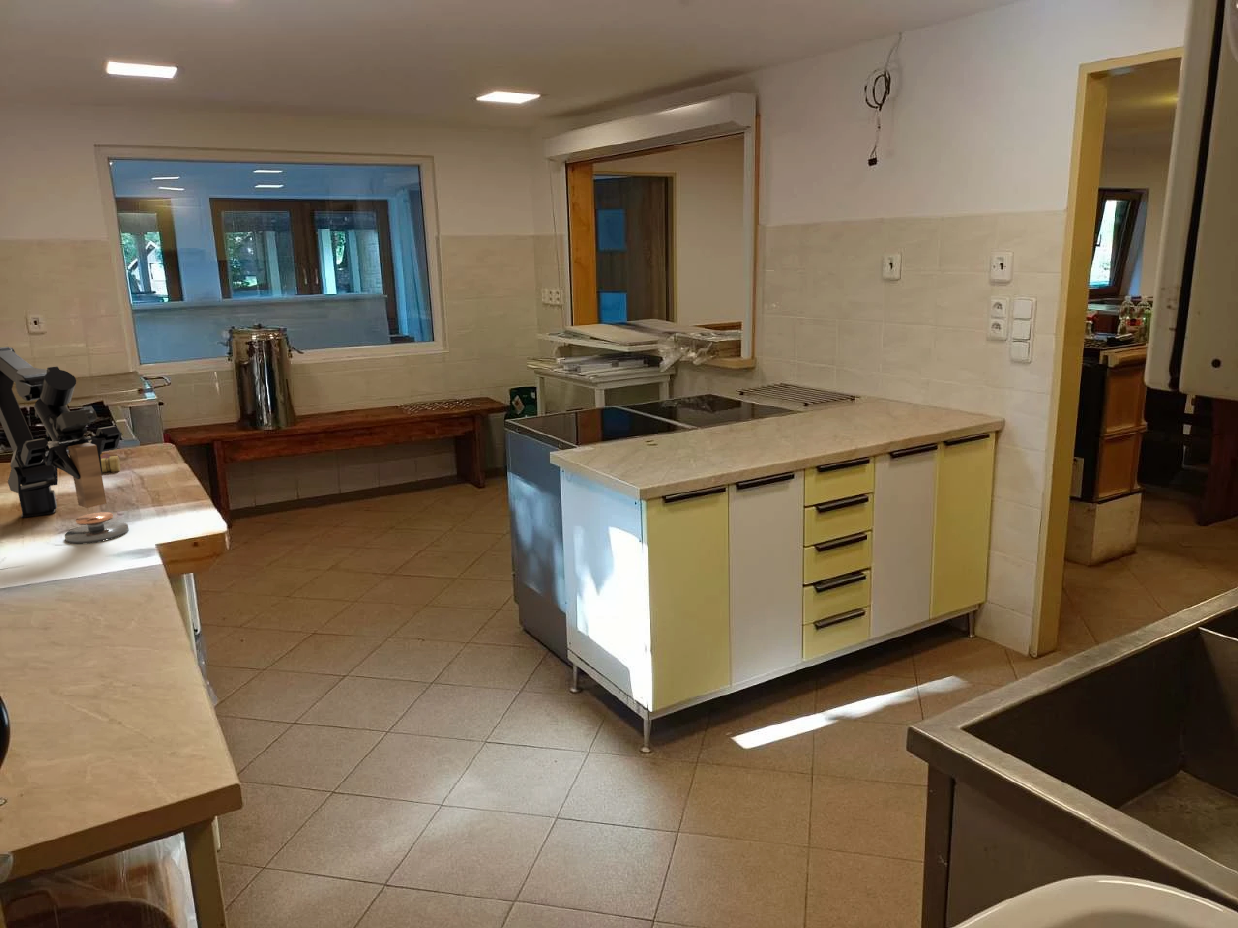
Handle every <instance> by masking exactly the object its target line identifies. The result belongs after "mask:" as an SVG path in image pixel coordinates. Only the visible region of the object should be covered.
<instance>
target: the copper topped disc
mask: <svg viewBox="0 0 1238 928" xmlns="http://www.w3.org/2000/svg"><path fill="white" fill-rule="evenodd" d="M113 518H114V514H113V513H112V512H108V511H105V512H104V511H101V512H93V513H88V514H84V515H81V516H78V517H77V518H75V524H77V525H81V526H78V527H75V528H73V529H71V530H69V531H67V532H66V533H64V539H65V542H66V543H69V544H73V545H75V544H76V545H84V544H83V543H87V544H93V543H92V542H96V543H99V542H98V541H101V542H104V541H103V540H106V539H110V540H112V539H111V538H114V539H116V538H115V537H117V538H119V537H122V536H124V535H126V534H127V533H128V532H129V525H128V523H126V522H124V521H110V520H112V519H113ZM125 533H126V534H125ZM123 534H124V535H123ZM121 535H122V536H121ZM118 536H119V537H118ZM106 541H107V540H106Z"/></svg>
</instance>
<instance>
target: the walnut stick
mask: <svg viewBox="0 0 1238 928" xmlns="http://www.w3.org/2000/svg"><path fill="white" fill-rule="evenodd" d="M67 452H68V456H69V457H70V459H71V460H72V462H73V463H74V465H75V466H76V468H77V470H78V472H79V474H80V476H81V477H80V479H76V478H75V477H73V476H72V477H73V483H74V488H75V493H76V499H77V503H78V504H77V505H78V506H80V507H82V508H85V509H89V508H93V507H97V506H101V505H106V504H107V502H108V501H107V498H106V492H105V487H104V481H103V480H104V479H103V475H102V474H103V473H102V474H101V468H100V463H99V457H98V451H97V446H96V445H95V444H91V443H84V444H79V445H73V446H68V451H67Z"/></svg>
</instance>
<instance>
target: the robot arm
mask: <svg viewBox="0 0 1238 928" xmlns="http://www.w3.org/2000/svg"><path fill="white" fill-rule="evenodd" d="M14 384H15V389H16V392H17V393H16V394H18V396H19V397H20V398H22V399H23V400H24V401H26V402H31V401H35V403H34V405H33V407H34V416H35V418H37V419H38V418H39V419H40V421H41V423H42V425H43V426H44V428H45V435H46V437H47V438H49V437H50V438H51V440H49V441H48V440H47V438H44V437H43V438H42V437H41V438H36V439H34V437H33V434H32V432H31V430H30V428H29V425H28V424H27V421H26V419H25V417H24V414H23V412H22V410H21V407H20V405H19V402H18V400H17V398H16V395H15V393H14V391H13V387H14ZM76 385H77V379H76V377H75V375H73V374H72V373H70V372H68V371H66V370H61V369H60V368H59V367H58V365H55V366H48V367H47V368H46V369H45V368H37V367H34V366H33V365H32V364H30V363H29V362H27V361H26V360H25V359H23V357H21V356H20V355H18V354H17V353H16V351H15V349H14V348H13V347H9V346H1V347H0V424H1V427H2V429H3V431H4V434H5V436H6V439H7V441H8V443H9V445H10V447H11V450H12V452H13V454H12V457H11V461H10V464H9V466H10V468H11V469H10V473H9V475H8V476H9V477H8V479H7V484H8V488H9V491H11V492H14V493H16V494H18V498H19V503H20V508H21V515H20V516H21V517H20V518H21V519H24V518H30V517H36V516H37V517H38V516H39V517H40V516H45V515H51V514H54V513H55V512H56V510H57V508H58V504H57V503H58V502H57V497H56V492H55V490H54V489H53V490H52V486H58V481H59V480H58V469H59V470H61V471H63V472H64V473H66V474H68V475H70V476H72V477H75V478H76V479H80V477H81V476H80V474H79V472H78V470H77V468H76V466H75V465H74V463H73V462H72V460H71V459H70V456H69V453H68V452H69V451H68V446H73V445H79V444H84V443H91V444H95V445H96V446H97V451H98V457H99V463H100V468H101V474H103V473H102V465H101V456H102V453H103V452H108V451H113V450H115V449H117V448H118V446H119V443H120V440H121V438H122V435H123V433H122V431H121V430H120V428H119V427H118V426H116V425H111V426H105V427H98V428H97V430H96V433H95V435H91V436H90V435H89V436H88V435H87V436H85V435H84V434H87V432H88V428H87V426H89V425H91V423H94V422H95V421H97V419H98V415H97V412H96V410H95V409H94V408H93V406H92V405H87V406H83V407H82V408H81V409H76V410H71V411H70V409H69V407H68V404H70V403H71V402H72V399H73V395H74V391H75V389H76V388H75V387H76Z"/></svg>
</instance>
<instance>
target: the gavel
mask: <svg viewBox="0 0 1238 928" xmlns="http://www.w3.org/2000/svg"><path fill="white" fill-rule="evenodd" d="M100 456H101V465H102V474H104V473H108V472H111V473H117V472H120V471H121V461H120V458H119V456H118V455H113V456H111V455H110V454H109V453H104V454H103V455H100Z"/></svg>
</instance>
